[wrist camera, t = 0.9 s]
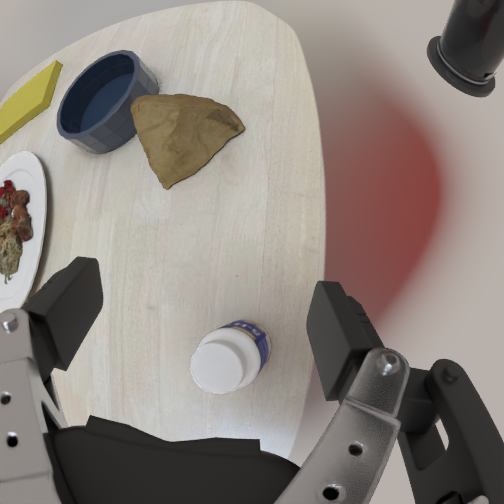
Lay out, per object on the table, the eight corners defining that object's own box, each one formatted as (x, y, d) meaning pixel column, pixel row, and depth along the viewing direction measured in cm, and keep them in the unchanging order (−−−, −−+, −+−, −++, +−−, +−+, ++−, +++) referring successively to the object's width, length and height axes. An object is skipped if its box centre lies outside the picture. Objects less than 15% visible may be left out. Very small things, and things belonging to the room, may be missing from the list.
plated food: (16, 353, 35) (2, 355, 32) (-29, 252, 42) (-39, 251, 39) (80, 202, 34) (64, 196, 31) (22, 133, 41) (11, 128, 38)
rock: (242, 84, 28) (157, 95, 29) (235, 81, 21) (126, 98, 22) (248, 174, 34) (168, 180, 35) (243, 199, 27) (143, 205, 27)
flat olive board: (62, 64, 41) (4, 111, 46) (56, 60, 39) (-2, 108, 44) (49, 106, 40) (-8, 150, 44) (42, 101, 38) (-14, 148, 42)
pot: (104, 75, 37) (85, 58, 32) (174, 67, 34) (157, 44, 28) (67, 152, 36) (43, 139, 31) (133, 157, 33) (108, 139, 28)
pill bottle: (270, 319, 28) (252, 334, 19) (272, 370, 27) (254, 405, 18) (218, 319, 29) (179, 332, 20) (220, 368, 28) (184, 399, 19)
